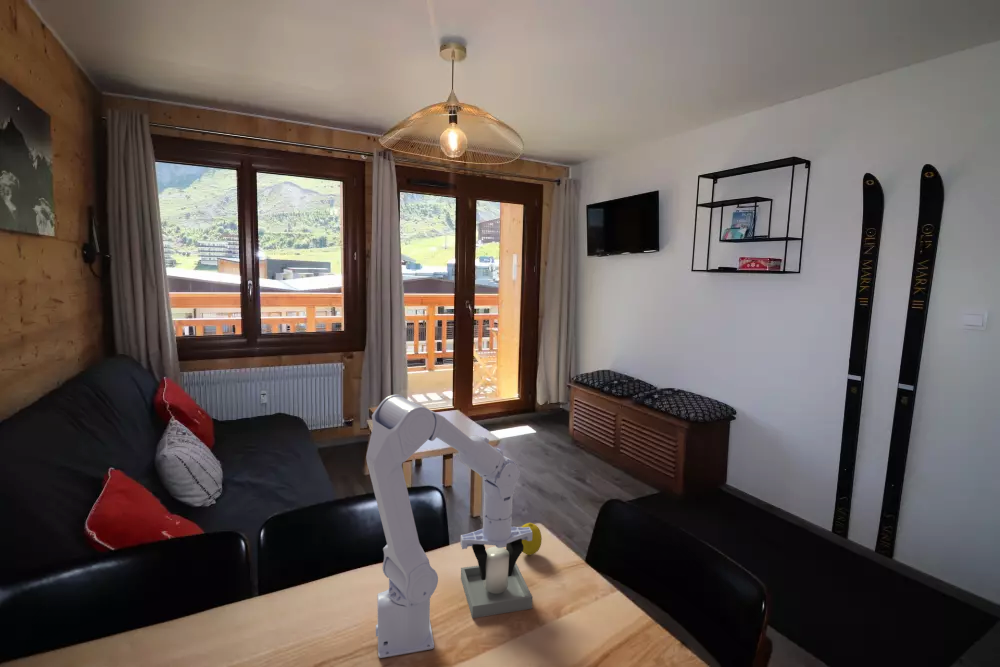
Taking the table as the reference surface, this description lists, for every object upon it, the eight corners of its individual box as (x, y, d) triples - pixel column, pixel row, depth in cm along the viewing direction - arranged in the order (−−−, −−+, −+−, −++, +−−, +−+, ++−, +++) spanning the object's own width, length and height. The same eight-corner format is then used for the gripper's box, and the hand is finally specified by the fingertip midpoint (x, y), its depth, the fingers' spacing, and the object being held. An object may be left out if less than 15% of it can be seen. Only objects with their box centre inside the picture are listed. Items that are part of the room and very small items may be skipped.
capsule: (487, 595, 97) (488, 563, 96) (480, 578, 102) (481, 548, 100) (511, 590, 98) (512, 559, 97) (503, 574, 103) (504, 544, 102)
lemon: (543, 561, 112) (545, 528, 111) (520, 563, 111) (521, 530, 109) (536, 547, 117) (538, 516, 116) (514, 549, 116) (515, 517, 115)
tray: (472, 618, 93) (472, 606, 93) (460, 578, 105) (461, 567, 104) (531, 608, 96) (532, 597, 96) (514, 571, 108) (514, 560, 107)
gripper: (465, 527, 92) (464, 593, 94) (538, 519, 96) (535, 582, 98) (459, 509, 99) (457, 570, 101) (527, 502, 103) (524, 561, 105)
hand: (495, 575), depth 100 cm, fingers closed on capsule, 5 cm apart
